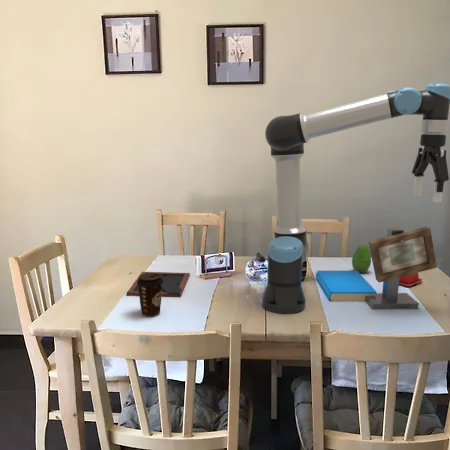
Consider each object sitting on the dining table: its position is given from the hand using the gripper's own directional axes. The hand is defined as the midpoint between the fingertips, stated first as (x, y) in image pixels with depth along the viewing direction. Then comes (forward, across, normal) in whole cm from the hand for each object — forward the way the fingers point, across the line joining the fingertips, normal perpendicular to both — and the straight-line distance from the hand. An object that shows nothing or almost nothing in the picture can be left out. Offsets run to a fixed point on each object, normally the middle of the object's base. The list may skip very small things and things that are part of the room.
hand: (426, 198), depth 158 cm
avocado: (+38, +38, +6) cm, 54 cm away
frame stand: (+38, +3, +8) cm, 39 cm away
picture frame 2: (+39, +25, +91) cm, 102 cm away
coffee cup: (+39, -3, +92) cm, 100 cm away
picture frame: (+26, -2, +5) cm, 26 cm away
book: (+39, +18, +20) cm, 47 cm away
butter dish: (+38, +25, -7) cm, 46 cm away
